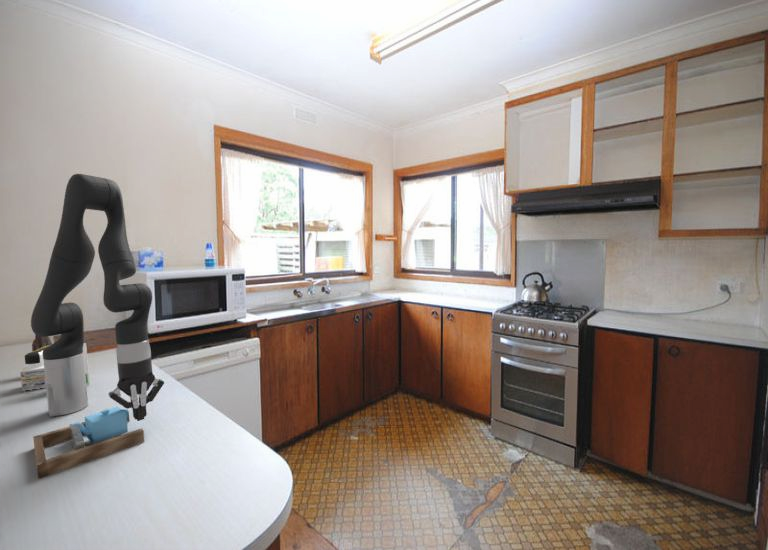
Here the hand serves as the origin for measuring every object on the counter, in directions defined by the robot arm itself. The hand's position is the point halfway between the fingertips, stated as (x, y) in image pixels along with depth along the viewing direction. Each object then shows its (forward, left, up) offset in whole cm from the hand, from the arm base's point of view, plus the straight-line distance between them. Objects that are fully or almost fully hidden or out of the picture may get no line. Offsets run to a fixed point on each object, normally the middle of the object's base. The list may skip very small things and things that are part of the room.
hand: (140, 419), depth 98 cm
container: (-17, +67, -3) cm, 69 cm away
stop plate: (-13, 0, -3) cm, 13 cm away
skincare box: (-9, +56, -3) cm, 57 cm away
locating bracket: (-11, 0, -3) cm, 11 cm away
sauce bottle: (-15, +84, -3) cm, 86 cm away
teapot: (-8, +1, -3) cm, 9 cm away
